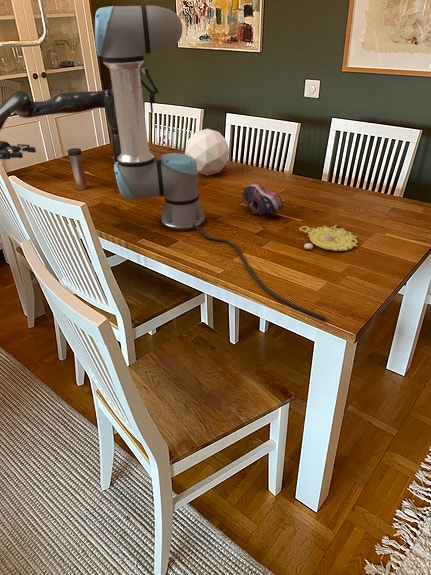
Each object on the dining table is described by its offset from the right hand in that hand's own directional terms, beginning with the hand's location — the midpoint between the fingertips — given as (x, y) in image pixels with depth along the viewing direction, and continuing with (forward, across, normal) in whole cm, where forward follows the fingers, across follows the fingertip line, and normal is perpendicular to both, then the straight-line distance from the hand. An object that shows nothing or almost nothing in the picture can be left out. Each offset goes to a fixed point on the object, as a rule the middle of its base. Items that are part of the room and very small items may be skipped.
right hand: (135, 113), depth 181 cm
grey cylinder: (+28, +26, +5) cm, 39 cm away
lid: (+12, +26, +5) cm, 29 cm away
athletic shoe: (+28, -41, +45) cm, 67 cm away
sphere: (+28, -29, -2) cm, 41 cm away
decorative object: (+28, -58, +73) cm, 97 cm away
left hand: (+14, +46, -4) cm, 49 cm away
